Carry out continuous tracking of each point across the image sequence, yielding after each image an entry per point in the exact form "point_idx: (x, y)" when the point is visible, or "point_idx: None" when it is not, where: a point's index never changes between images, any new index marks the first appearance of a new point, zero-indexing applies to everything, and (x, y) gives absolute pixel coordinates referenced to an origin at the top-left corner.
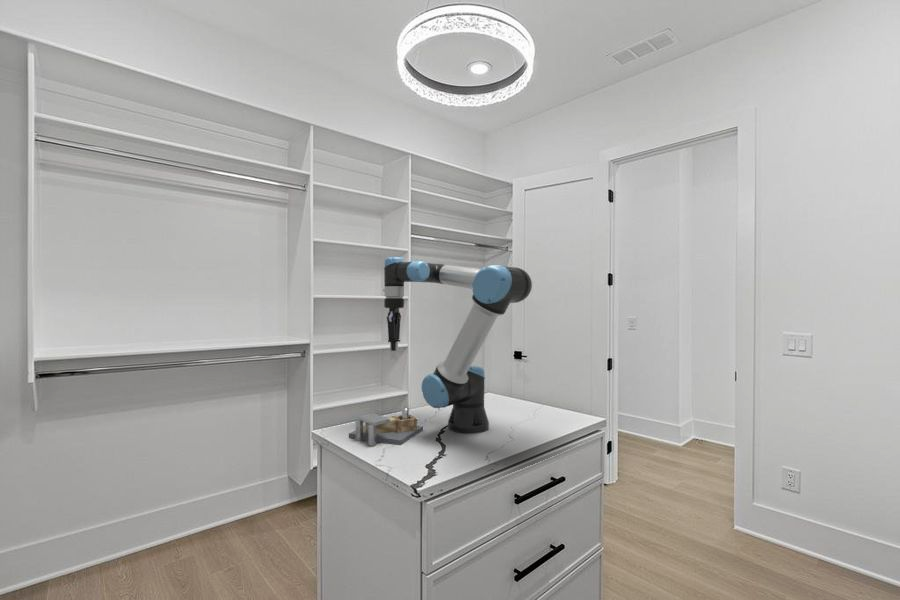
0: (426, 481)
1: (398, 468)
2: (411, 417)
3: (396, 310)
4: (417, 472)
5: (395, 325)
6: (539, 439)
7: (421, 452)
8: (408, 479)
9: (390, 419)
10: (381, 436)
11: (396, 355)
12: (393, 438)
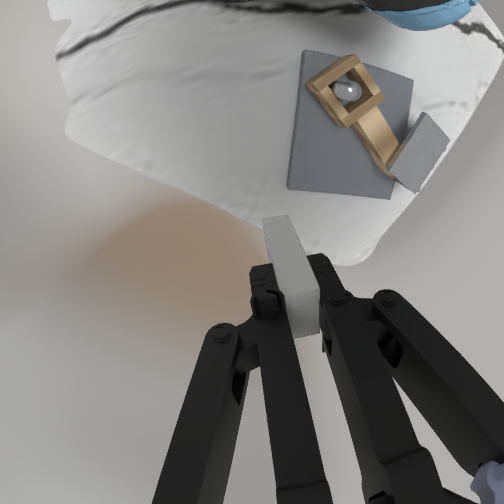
0: (496, 37)
1: (480, 72)
2: (345, 71)
3: None
4: (483, 46)
5: (413, 438)
6: None
7: (427, 38)
8: (498, 58)
9: (375, 122)
10: (400, 126)
11: (294, 229)
12: (406, 97)
